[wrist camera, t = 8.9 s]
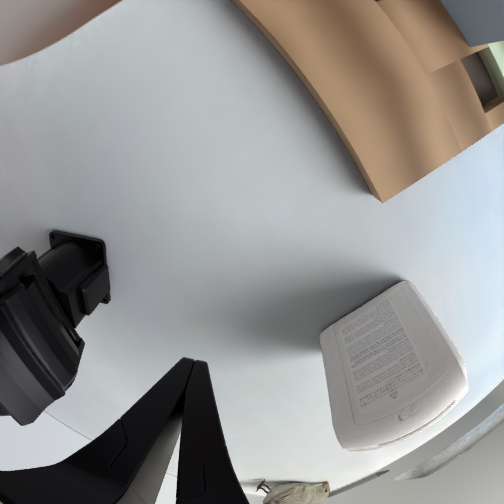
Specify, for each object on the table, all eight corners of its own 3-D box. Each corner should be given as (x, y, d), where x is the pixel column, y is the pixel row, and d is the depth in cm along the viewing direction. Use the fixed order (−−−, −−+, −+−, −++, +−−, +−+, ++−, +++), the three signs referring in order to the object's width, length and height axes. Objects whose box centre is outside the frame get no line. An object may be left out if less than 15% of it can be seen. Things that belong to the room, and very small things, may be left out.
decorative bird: (323, 484, 46) (324, 510, 39) (254, 482, 45) (252, 510, 38) (333, 477, 43) (335, 505, 37) (259, 476, 43) (258, 506, 36)
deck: (372, 195, 19) (401, 217, 14) (227, -4, 13) (215, -36, 9) (535, 89, 12) (567, 93, 7) (440, -62, 6) (463, -80, 2)
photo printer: (333, 356, 26) (353, 468, 15) (310, 333, 25) (326, 457, 13) (422, 300, 23) (483, 401, 11) (407, 270, 21) (480, 376, 10)
